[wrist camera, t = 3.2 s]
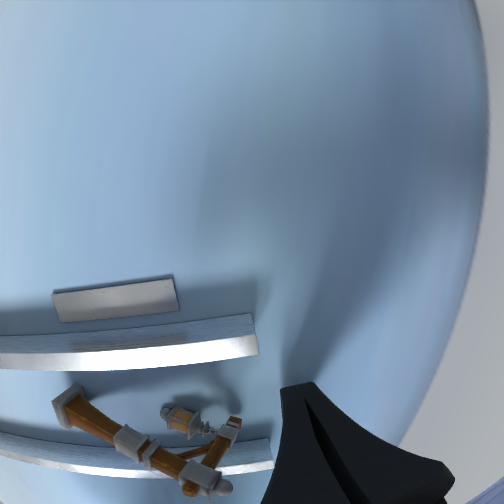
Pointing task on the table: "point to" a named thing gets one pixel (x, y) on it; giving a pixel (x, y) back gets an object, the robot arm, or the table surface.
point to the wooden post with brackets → (150, 453)
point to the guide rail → (128, 357)
